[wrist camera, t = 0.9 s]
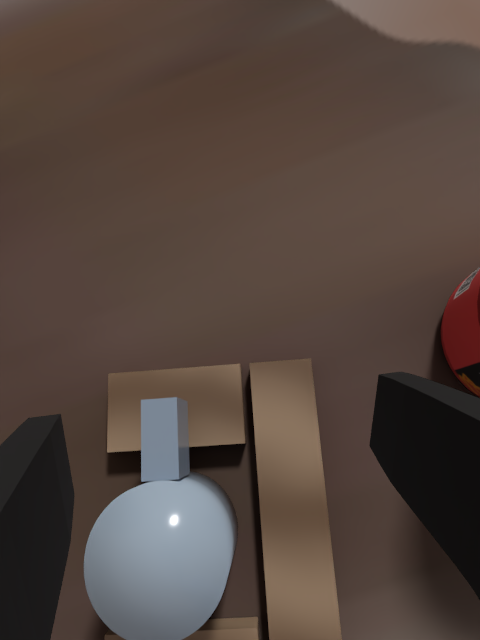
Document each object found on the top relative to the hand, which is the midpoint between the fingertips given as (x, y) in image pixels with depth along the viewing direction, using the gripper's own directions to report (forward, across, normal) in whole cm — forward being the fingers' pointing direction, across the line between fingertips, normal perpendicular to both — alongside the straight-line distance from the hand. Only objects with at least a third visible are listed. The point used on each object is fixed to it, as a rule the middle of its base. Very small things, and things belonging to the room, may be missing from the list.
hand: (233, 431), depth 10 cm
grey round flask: (+10, +1, +10) cm, 14 cm away
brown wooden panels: (+8, -1, +12) cm, 14 cm away
